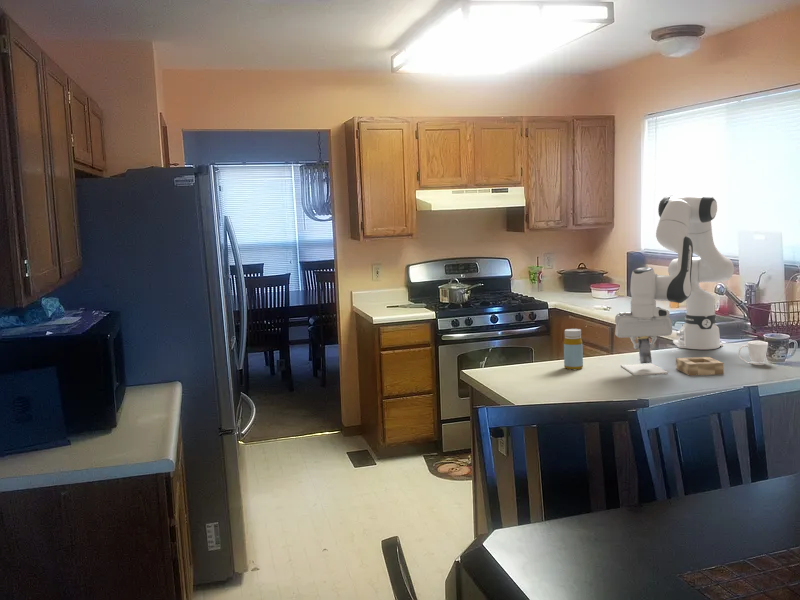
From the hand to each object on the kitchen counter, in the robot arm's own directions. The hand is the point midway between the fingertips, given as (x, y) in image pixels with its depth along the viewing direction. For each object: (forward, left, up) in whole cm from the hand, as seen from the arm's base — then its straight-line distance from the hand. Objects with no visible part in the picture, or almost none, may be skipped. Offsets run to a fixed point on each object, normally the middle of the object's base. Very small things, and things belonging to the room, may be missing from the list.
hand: (643, 348), depth 250 cm
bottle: (-9, -24, -8) cm, 27 cm away
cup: (-3, +42, -8) cm, 43 cm away
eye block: (+6, +18, -8) cm, 21 cm away
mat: (0, 0, -8) cm, 8 cm away
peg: (+1, 0, -5) cm, 5 cm away
